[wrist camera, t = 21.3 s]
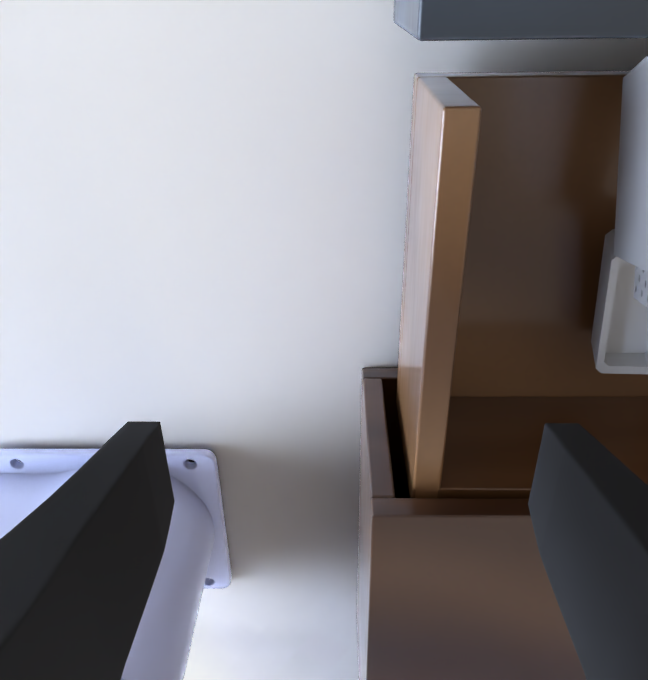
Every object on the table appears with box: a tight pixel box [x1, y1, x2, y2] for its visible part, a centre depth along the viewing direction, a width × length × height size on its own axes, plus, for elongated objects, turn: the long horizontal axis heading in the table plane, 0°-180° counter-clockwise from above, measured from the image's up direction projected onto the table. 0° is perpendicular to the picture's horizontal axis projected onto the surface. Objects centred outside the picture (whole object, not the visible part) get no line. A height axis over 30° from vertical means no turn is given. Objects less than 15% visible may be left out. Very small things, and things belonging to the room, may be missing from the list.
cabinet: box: [357, 368, 586, 680], centre depth 23 cm, size 14×14×7 cm
